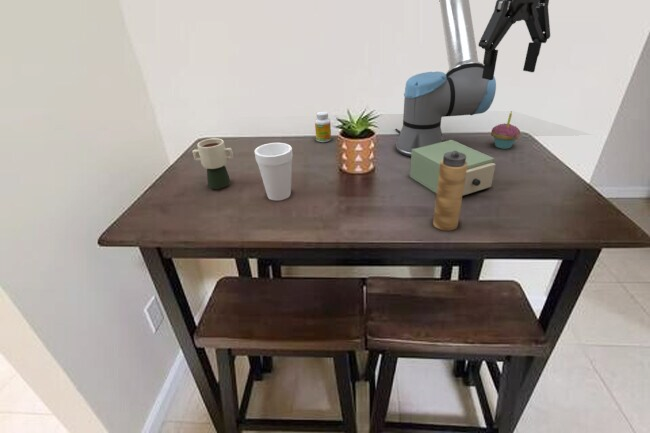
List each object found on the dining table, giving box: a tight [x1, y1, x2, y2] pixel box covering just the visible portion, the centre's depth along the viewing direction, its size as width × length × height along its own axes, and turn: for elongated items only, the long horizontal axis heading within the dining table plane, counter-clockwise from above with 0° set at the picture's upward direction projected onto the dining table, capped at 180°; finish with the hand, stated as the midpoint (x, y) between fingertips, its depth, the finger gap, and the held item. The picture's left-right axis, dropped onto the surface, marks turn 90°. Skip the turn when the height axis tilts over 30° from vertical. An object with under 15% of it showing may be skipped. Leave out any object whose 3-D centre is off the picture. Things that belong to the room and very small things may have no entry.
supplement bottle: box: [314, 110, 332, 143], centre depth 134 cm, size 5×5×10 cm
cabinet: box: [409, 139, 495, 195], centre depth 102 cm, size 16×14×8 cm
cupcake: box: [490, 111, 521, 150], centre depth 121 cm, size 9×8×12 cm
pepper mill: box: [432, 151, 468, 232], centre depth 82 cm, size 5×5×18 cm
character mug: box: [192, 137, 234, 190], centre depth 106 cm, size 11×7×13 cm, turn 91°
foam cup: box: [254, 142, 294, 201], centre depth 99 cm, size 10×9×13 cm
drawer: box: [463, 162, 496, 196], centre depth 100 cm, size 16×13×6 cm
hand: (508, 75), depth 93 cm, fingers open, 13 cm apart
